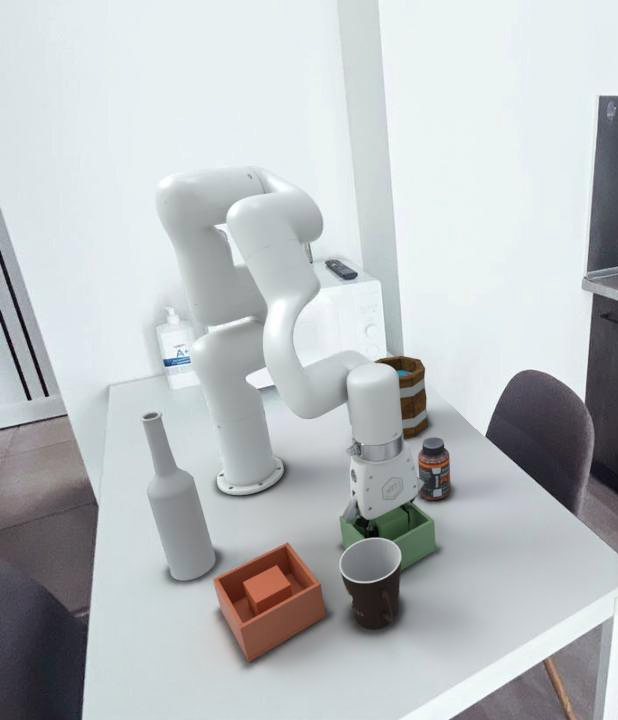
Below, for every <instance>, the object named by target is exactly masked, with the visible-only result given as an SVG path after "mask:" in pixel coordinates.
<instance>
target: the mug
mask: <svg viewBox="0 0 618 720" xmlns="http://www.w3.org/2000/svg"><path fill="white" fill-rule="evenodd" d="M374 362H375V363H381V364H386V365H389V366H391V367H392V368H394V369H395V370H396V372H397V374H398V378H399V390H400V403H401V415H402V428H403V439H404V440H405V439H410V438H414V437H418V436H419V435H420V434H421V433H422V432H423V431H424V430H426V429H427V428H428V427H429V422H428V417H427V415H428V414H427V400H428V399H427V398H428V397H427V392H426V381H425V378H426V377H425V376H426V367H425V365H424V364H423V362H422V359H419V358H414V357H410V356H406V355H405V356H404V355H398V356H390V357H383V358H379V359H377V360H375V361H374ZM345 405H346V407H347V408H346V409H347V414H348V421H349V425H350V426H351V427H352V425H351V416H350V408H349V402H346V403H345Z"/></svg>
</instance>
